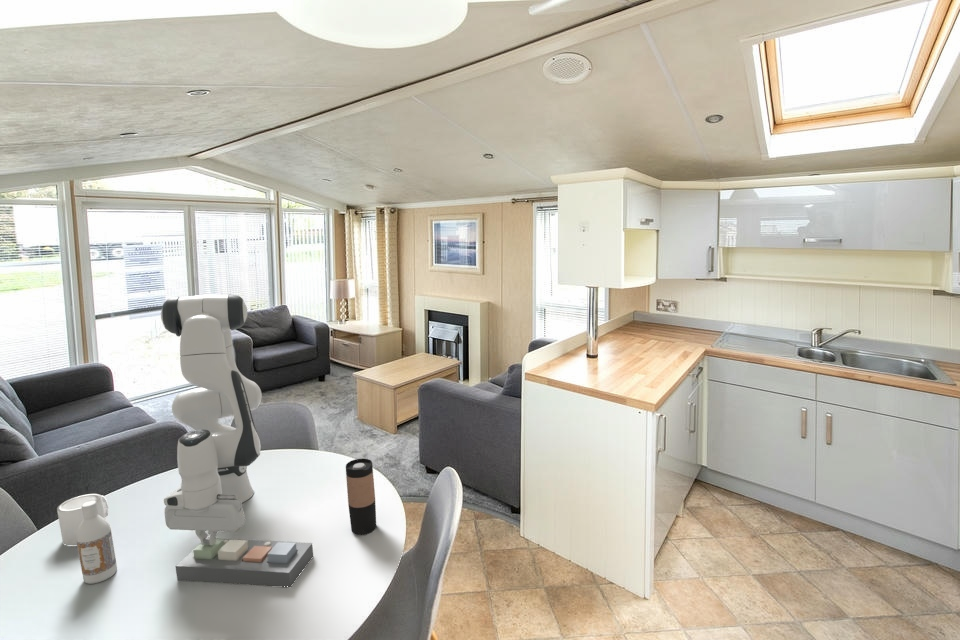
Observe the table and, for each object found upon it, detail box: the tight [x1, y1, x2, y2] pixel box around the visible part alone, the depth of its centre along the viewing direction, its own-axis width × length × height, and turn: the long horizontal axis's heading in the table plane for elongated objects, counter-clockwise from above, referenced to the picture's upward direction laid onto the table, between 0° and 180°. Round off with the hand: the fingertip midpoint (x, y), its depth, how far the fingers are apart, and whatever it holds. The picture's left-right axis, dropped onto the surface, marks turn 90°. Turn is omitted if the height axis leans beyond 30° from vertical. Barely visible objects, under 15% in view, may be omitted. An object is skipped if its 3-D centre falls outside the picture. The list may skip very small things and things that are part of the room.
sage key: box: [192, 538, 225, 560], centre depth 129 cm, size 5×5×4 cm
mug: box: [56, 493, 109, 545], centre depth 146 cm, size 14×10×11 cm
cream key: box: [218, 539, 248, 561], centre depth 128 cm, size 5×5×4 cm
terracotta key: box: [243, 546, 272, 562], centre depth 127 cm, size 5×5×4 cm
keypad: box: [175, 537, 314, 588], centre depth 128 cm, size 30×12×4 cm, turn 82°
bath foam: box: [76, 501, 118, 585], centre depth 126 cm, size 7×7×20 cm
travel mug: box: [345, 458, 377, 536], centre depth 143 cm, size 8×8×20 cm
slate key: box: [267, 541, 297, 564], centre depth 126 cm, size 5×5×4 cm
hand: (208, 544), depth 128 cm, fingers closed
